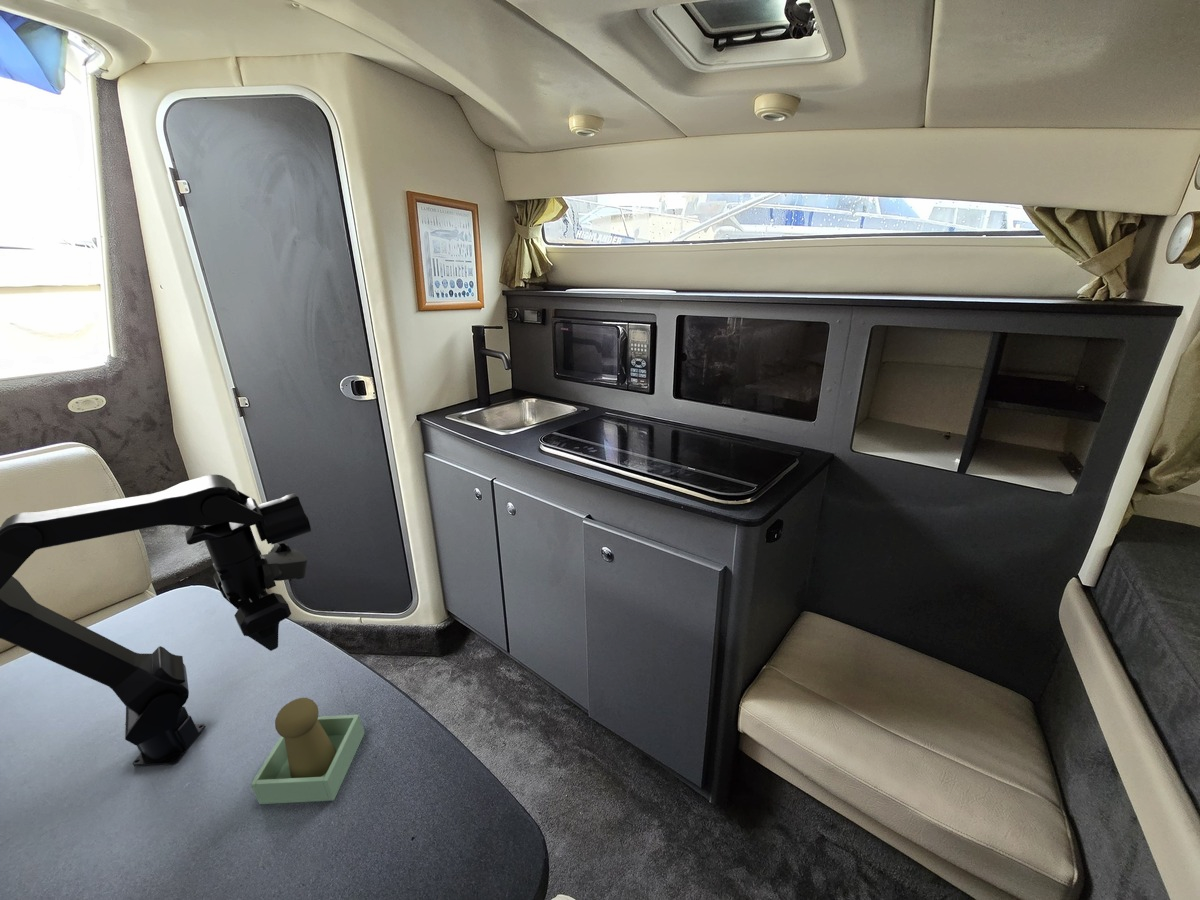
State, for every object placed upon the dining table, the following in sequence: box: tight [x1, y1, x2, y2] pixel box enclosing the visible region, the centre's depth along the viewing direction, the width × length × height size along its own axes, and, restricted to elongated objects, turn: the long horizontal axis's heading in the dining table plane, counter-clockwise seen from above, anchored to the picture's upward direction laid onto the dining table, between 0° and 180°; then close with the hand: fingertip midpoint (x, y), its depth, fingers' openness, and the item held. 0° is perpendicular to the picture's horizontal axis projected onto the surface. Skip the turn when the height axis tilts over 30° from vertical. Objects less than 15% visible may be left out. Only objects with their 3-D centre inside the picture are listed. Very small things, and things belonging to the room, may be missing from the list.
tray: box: [250, 714, 365, 805], centre depth 72 cm, size 10×10×4 cm
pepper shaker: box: [274, 697, 336, 778], centre depth 70 cm, size 6×6×11 cm
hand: (265, 635), depth 81 cm, fingers open, 9 cm apart
